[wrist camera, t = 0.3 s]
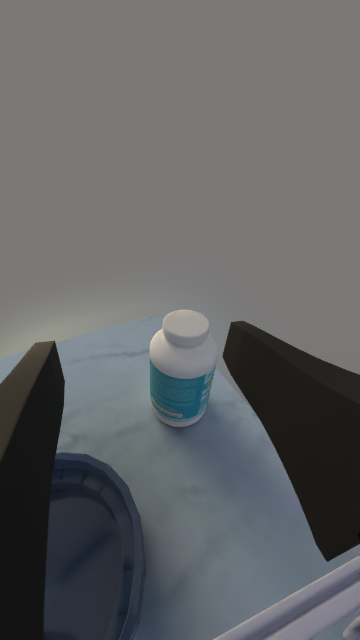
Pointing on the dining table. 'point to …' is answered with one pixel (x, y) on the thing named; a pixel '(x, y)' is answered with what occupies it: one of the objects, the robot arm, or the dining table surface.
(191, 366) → the pill bottle
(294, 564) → the dining table surface
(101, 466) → the bowl
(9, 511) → the robot arm
